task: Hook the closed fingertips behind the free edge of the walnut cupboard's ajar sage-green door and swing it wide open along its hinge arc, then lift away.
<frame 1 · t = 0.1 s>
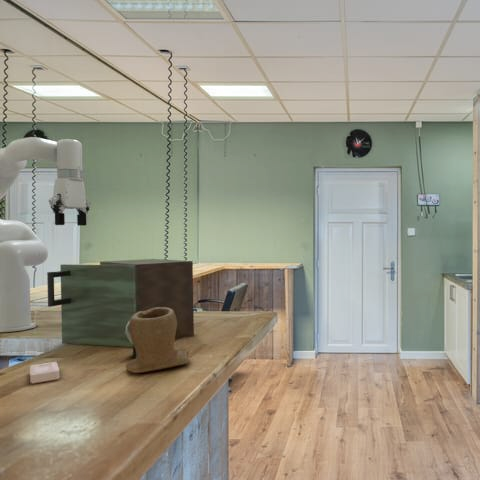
hand: (71, 225, 159), 37 cm above the counter, tool pointing down, fingers open, 9 cm apart
cupboard: (147, 335, 151), on the counter
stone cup: (160, 369, 113), on the counter
cupboard door: (88, 306, 135), point 12 cm above the counter, hinge at 25.0°
watch: (142, 357, 125), on the counter
soap bar: (44, 378, 107), on the counter
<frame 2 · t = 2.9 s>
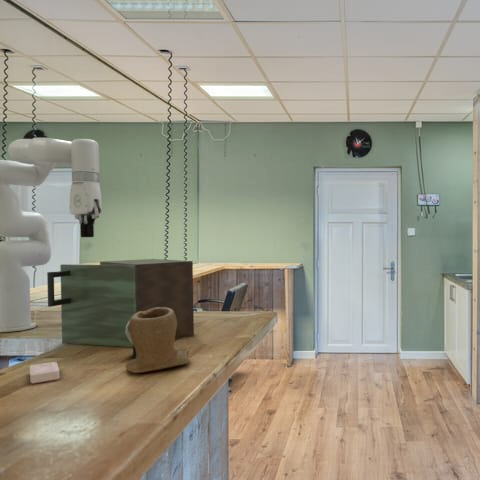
hand: (87, 237, 145), 33 cm above the counter, tool pointing down, fingers closed
nothing on the counter moved.
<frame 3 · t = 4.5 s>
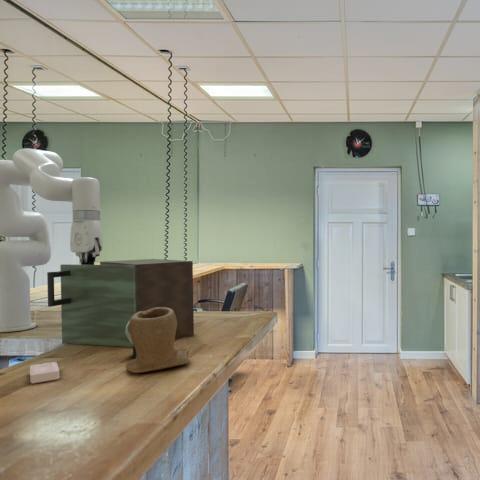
hand: (87, 274, 145), 21 cm above the counter, tool pointing down, fingers closed
nothing on the counter moved.
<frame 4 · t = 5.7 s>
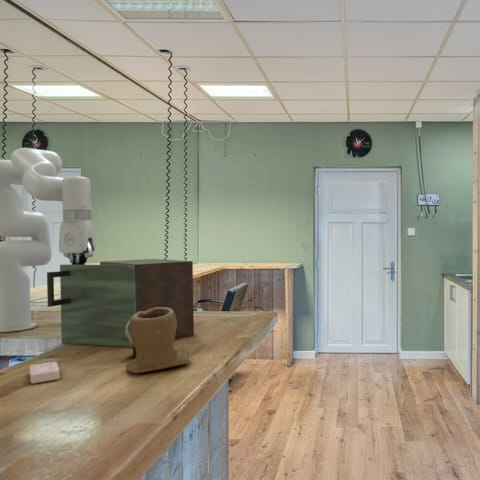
hand: (78, 275, 142), 21 cm above the counter, tool pointing down, fingers closed
cupboard door: (88, 306, 135), point 12 cm above the counter, hinge at 25.4°, touching gripper
everything else where it was.
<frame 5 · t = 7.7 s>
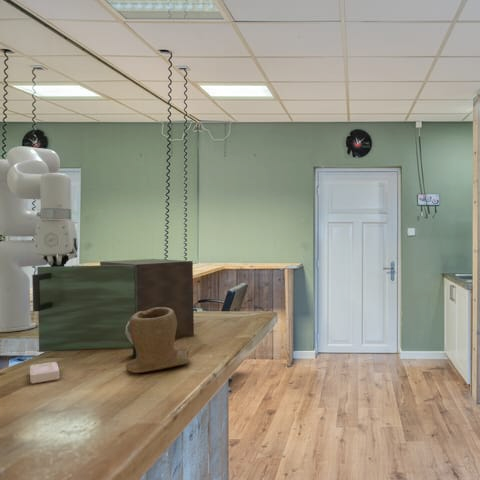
hand: (57, 278, 134), 21 cm above the counter, tool pointing down, fingers closed
cupboard door: (81, 309, 130), point 12 cm above the counter, hinge at 45.4°, touching gripper
everything else where it was.
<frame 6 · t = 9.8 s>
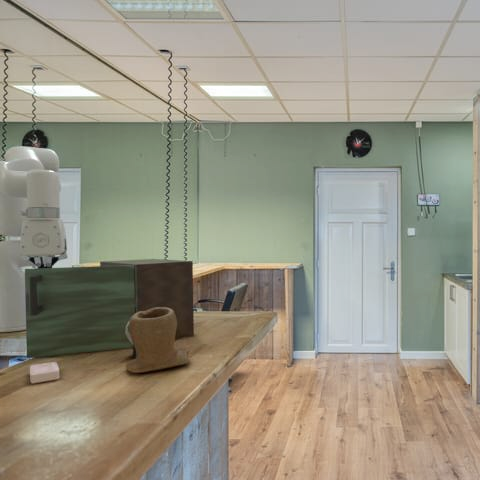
hand: (45, 280, 128), 21 cm above the counter, tool pointing down, fingers closed
cupboard door: (80, 311, 126), point 12 cm above the counter, hinge at 63.5°, touching gripper
everything else where it was.
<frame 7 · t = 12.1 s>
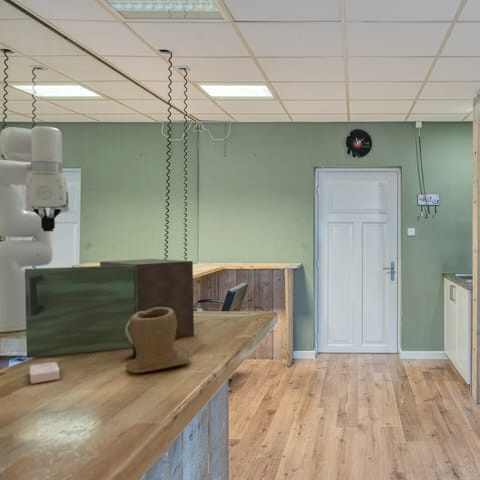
hand: (48, 231, 137), 35 cm above the counter, tool pointing down, fingers closed
cupboard door: (80, 311, 126), point 12 cm above the counter, hinge at 63.5°
everything else where it was.
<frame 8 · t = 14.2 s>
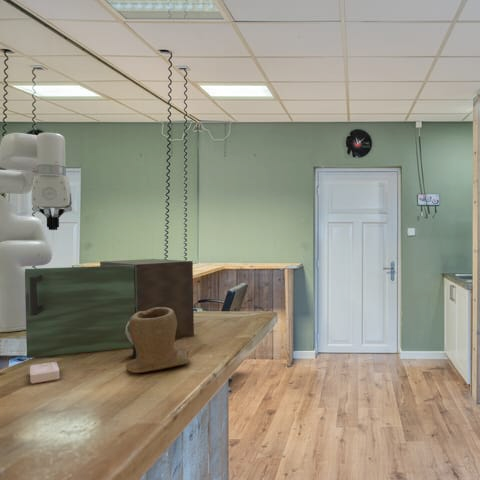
hand: (53, 229, 147), 35 cm above the counter, tool pointing down, fingers closed
nothing on the counter moved.
at the end: cupboard door at +64° (first picture: +25°); the gripper is holding nothing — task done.
